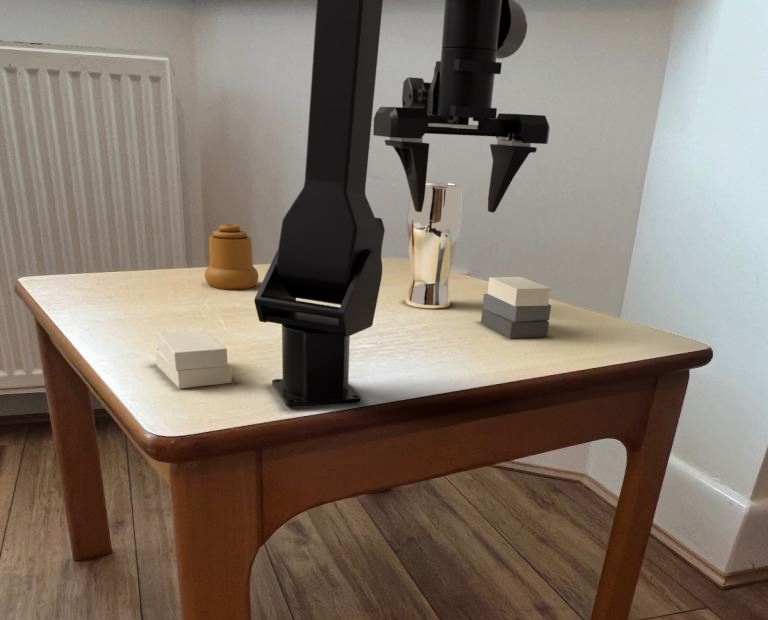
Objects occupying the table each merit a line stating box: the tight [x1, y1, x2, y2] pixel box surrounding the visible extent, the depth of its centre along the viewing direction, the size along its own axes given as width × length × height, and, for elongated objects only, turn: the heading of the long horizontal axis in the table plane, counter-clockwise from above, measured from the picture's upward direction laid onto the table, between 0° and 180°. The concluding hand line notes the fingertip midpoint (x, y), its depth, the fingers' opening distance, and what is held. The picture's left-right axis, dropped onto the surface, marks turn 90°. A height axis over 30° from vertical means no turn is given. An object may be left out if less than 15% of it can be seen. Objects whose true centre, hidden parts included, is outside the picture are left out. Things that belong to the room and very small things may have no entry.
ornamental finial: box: [204, 223, 259, 290], centre depth 104 cm, size 8×8×8 cm
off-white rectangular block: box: [487, 276, 551, 306], centre depth 89 cm, size 7×4×2 cm, turn 20°
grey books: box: [480, 293, 552, 339], centre depth 90 cm, size 8×5×4 cm
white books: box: [154, 328, 233, 390], centre depth 68 cm, size 8×5×3 cm, turn 30°
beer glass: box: [405, 181, 464, 310], centre depth 98 cm, size 7×7×15 cm
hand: (455, 211), depth 84 cm, fingers open, 9 cm apart
